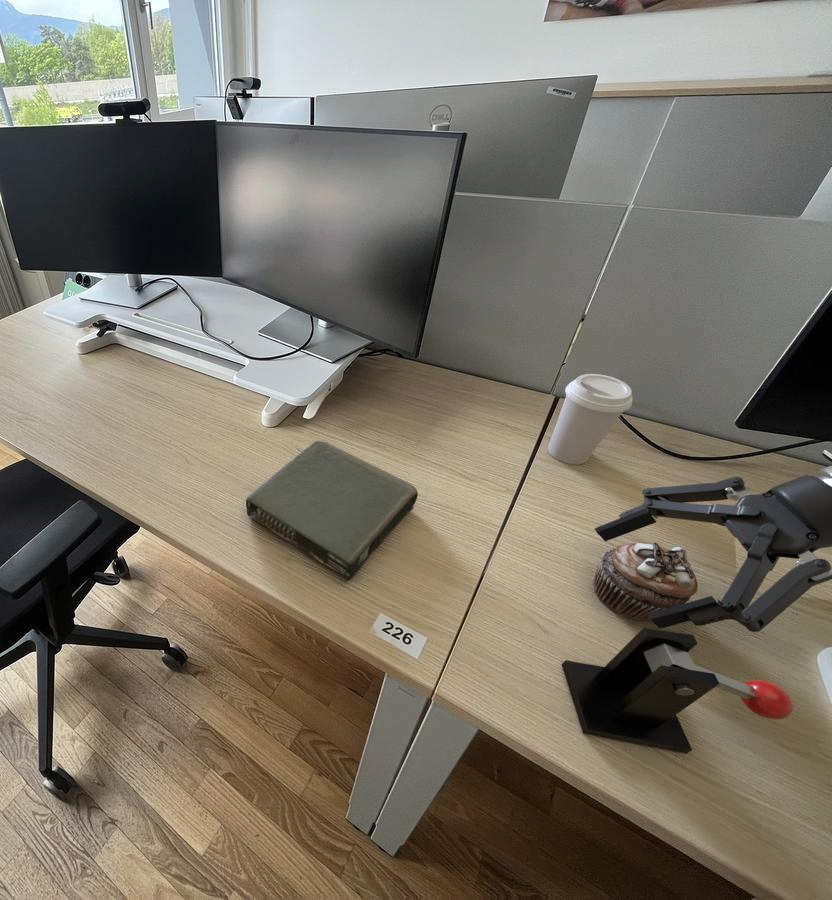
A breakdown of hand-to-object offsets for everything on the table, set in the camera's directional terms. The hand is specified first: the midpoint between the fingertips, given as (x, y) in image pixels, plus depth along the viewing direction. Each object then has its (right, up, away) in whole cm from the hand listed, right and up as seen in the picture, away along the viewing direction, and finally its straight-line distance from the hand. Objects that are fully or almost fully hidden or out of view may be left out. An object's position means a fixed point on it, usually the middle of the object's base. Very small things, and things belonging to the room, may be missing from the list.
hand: (623, 574), depth 62 cm
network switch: (-36, +6, +18) cm, 41 cm away
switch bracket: (-7, -13, -8) cm, 17 cm away
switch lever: (-3, -8, -13) cm, 16 cm away
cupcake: (+3, -4, +3) cm, 6 cm away
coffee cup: (+11, +16, +26) cm, 32 cm away
